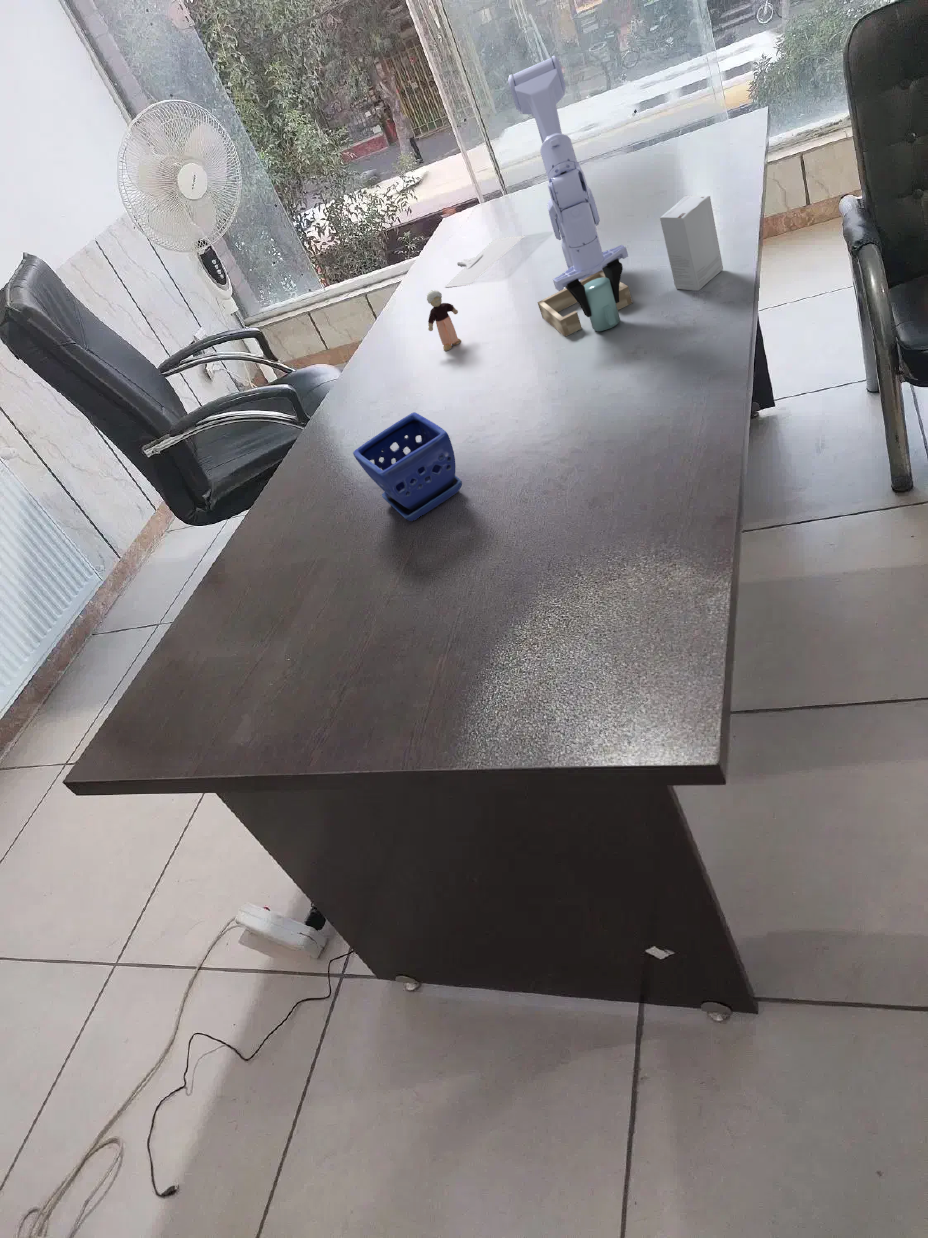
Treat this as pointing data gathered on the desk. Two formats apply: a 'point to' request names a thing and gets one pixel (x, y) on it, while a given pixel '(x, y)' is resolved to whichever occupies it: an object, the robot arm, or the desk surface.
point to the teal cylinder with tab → (601, 304)
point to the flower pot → (412, 465)
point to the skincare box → (692, 242)
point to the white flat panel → (482, 261)
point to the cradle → (566, 299)
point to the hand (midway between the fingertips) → (601, 308)
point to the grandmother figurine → (442, 319)
